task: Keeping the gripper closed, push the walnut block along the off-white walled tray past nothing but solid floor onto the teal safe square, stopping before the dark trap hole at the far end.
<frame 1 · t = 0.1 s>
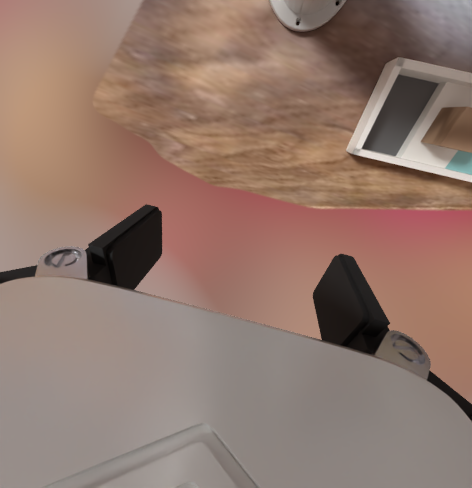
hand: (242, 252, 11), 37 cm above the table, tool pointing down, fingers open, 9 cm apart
walnut block: (445, 128, 34), point 2 cm above the table, touching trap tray
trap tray: (449, 130, 35), on the table
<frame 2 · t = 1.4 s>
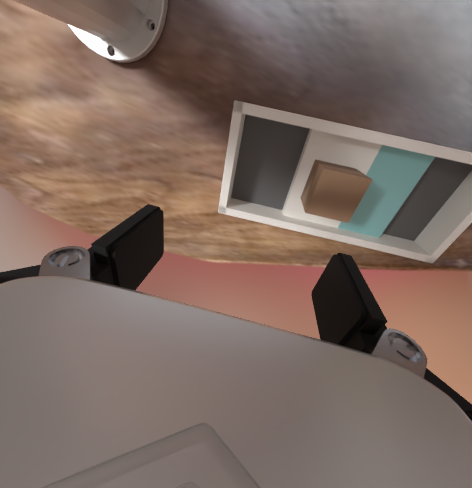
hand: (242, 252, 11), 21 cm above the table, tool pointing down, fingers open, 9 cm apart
walnut block: (326, 183, 26), point 2 cm above the table, touching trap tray
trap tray: (337, 183, 28), on the table
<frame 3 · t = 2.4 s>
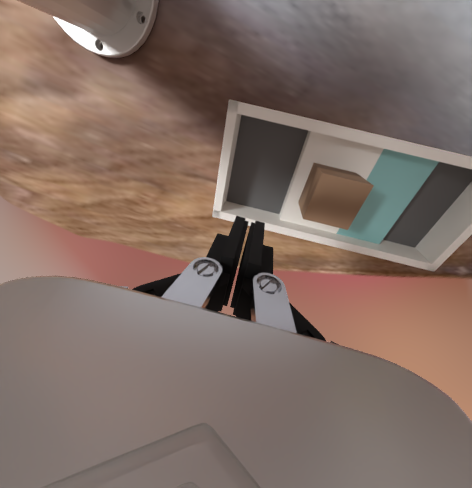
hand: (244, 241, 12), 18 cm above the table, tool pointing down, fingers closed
walnut block: (325, 188, 25), point 2 cm above the table, touching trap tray
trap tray: (337, 187, 26), on the table
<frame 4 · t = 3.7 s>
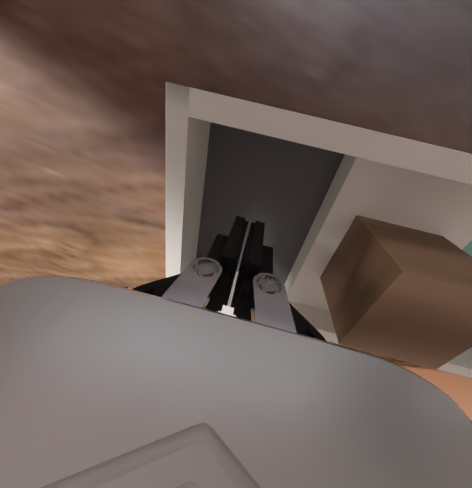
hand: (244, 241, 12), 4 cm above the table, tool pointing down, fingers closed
walnut block: (374, 259, 13), point 2 cm above the table, touching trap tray
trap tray: (390, 249, 15), on the table
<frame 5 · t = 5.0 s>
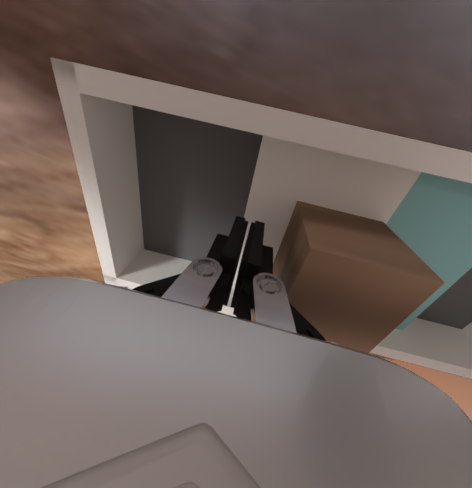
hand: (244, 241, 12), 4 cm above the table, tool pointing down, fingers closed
walnut block: (321, 246, 13), point 2 cm above the table, touching gripper
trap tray: (326, 233, 15), on the table
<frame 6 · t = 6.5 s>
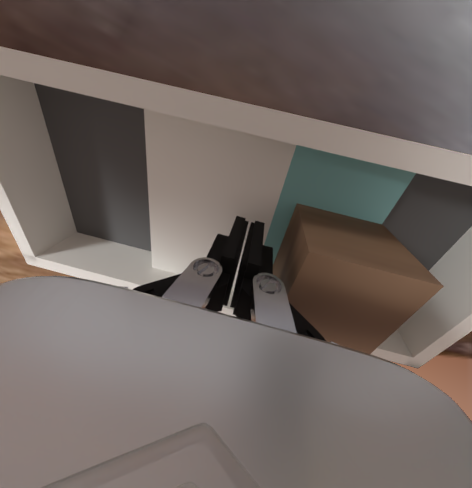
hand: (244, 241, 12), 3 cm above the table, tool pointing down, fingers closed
walnut block: (321, 248, 13), point 2 cm above the table, touching gripper, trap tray
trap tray: (241, 214, 15), on the table
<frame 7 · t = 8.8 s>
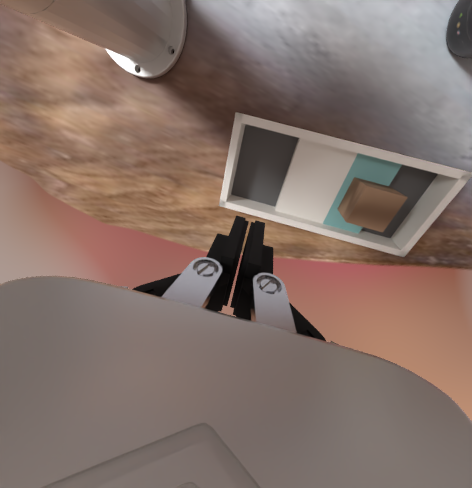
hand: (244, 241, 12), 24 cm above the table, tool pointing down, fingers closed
walnut block: (361, 198, 30), point 2 cm above the table, touching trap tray
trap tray: (323, 184, 32), on the table
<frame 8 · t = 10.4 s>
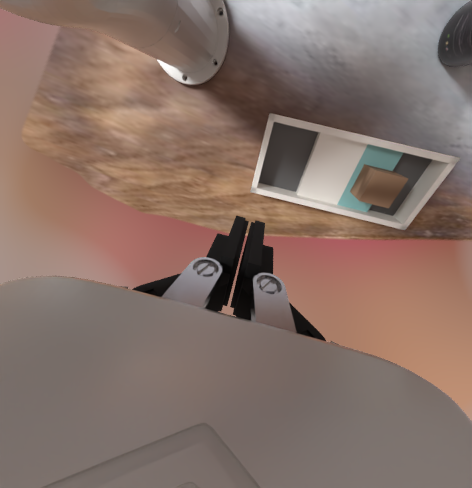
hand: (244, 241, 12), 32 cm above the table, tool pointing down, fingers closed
supplement bottle: (465, 35, 27), on the table
walnut block: (370, 181, 36), point 2 cm above the table, touching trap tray
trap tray: (337, 171, 38), on the table
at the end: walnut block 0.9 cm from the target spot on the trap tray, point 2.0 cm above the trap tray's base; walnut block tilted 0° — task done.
